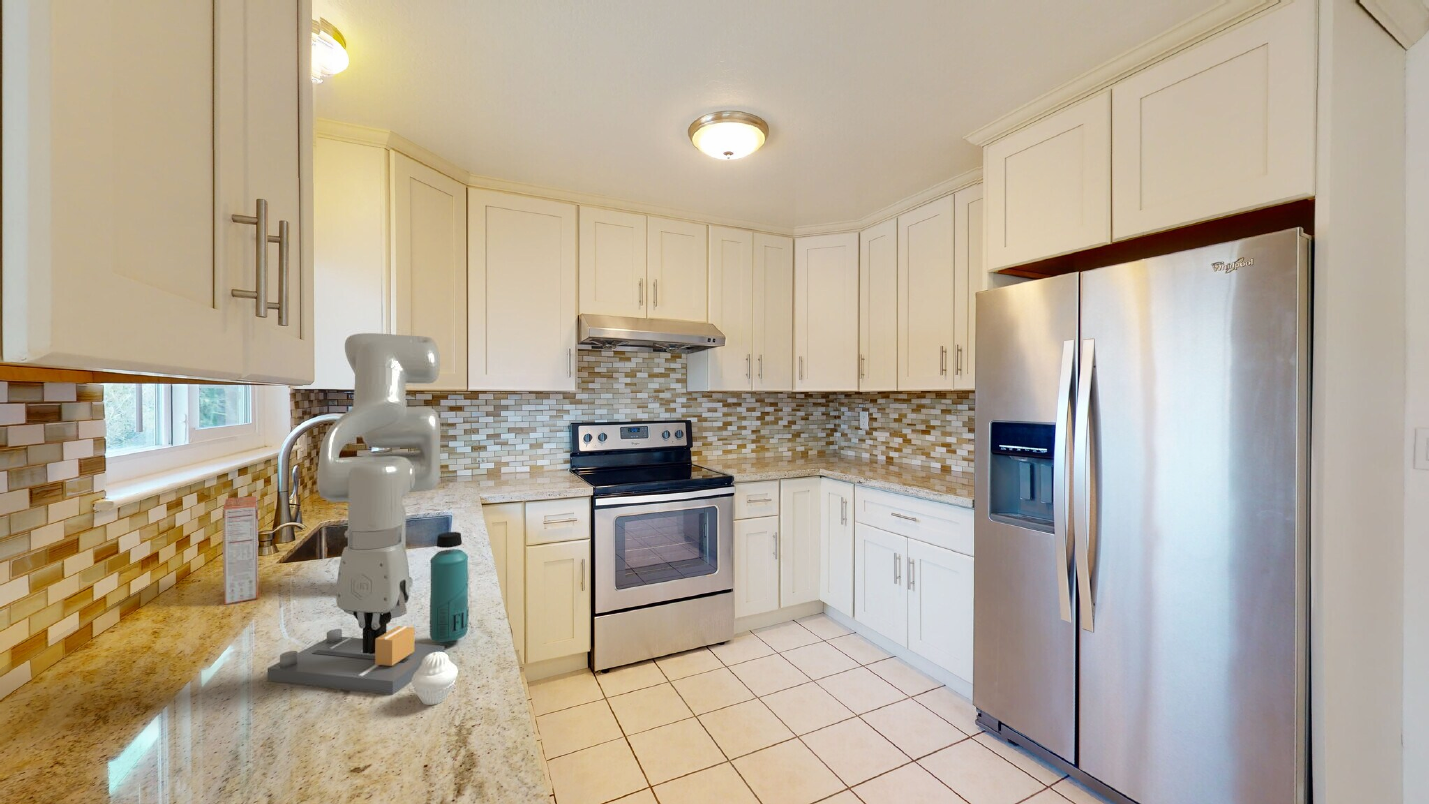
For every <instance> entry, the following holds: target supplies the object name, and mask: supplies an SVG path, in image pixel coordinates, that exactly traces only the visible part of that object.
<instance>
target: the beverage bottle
mask: <svg viewBox="0 0 1429 804" xmlns="http://www.w3.org/2000/svg"><path fill="white" fill-rule="evenodd" d="M436 538H437V540H436V547H437V548H443V549H444V550H441V551H440V550H439V551H438V552H437V553H436V554H434V555H433V556H432V557H431V558H430V562H429V563H430V595H429V596H430V597H429V612H428V613H429V623H428V625H429V628H428V629H429V636H430V638H431V640H432V641H434V642H438V643H439V642H440V643H444V642H445V643H446V642H452V641H456V640H458V639H462V638H463V637H465V636H466V635H467V633H468V630H469V619H470V617H469V615H470V614H469V610H470V609H469V596H468V595H469V591H468V590H469V578H470V577H469V576H470V575H469V569H468V568H469V565H468V559H469V556H468V554H467V553H466V552H465V551H464V550H461V549H458V548H457V549H456V547H459V546H461V545H462V544H463V542H462V533H461V532H459V531H447V532H442V533H439V534H438V535H437V537H436ZM454 547H455V548H454ZM445 548H447V549H445ZM448 548H451V549H448ZM452 548H453V549H452Z"/></svg>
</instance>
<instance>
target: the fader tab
mask: <svg viewBox="0 0 1429 804" xmlns="http://www.w3.org/2000/svg"><path fill="white" fill-rule="evenodd" d="M414 643H415V627H413V626H407V625H405V626H401V625H398V626H396V627H394V628H393V629H391V630H389V631H386V633H385V634H383V635H382V636H380V637H378V638H376V639H375V664H379V665H389V666H393V665H394V664H396V663H397V662H399V661H400V660H402V659H403V658H405V657H407V656H408V655H410V654H411V653H413V652H414Z"/></svg>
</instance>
